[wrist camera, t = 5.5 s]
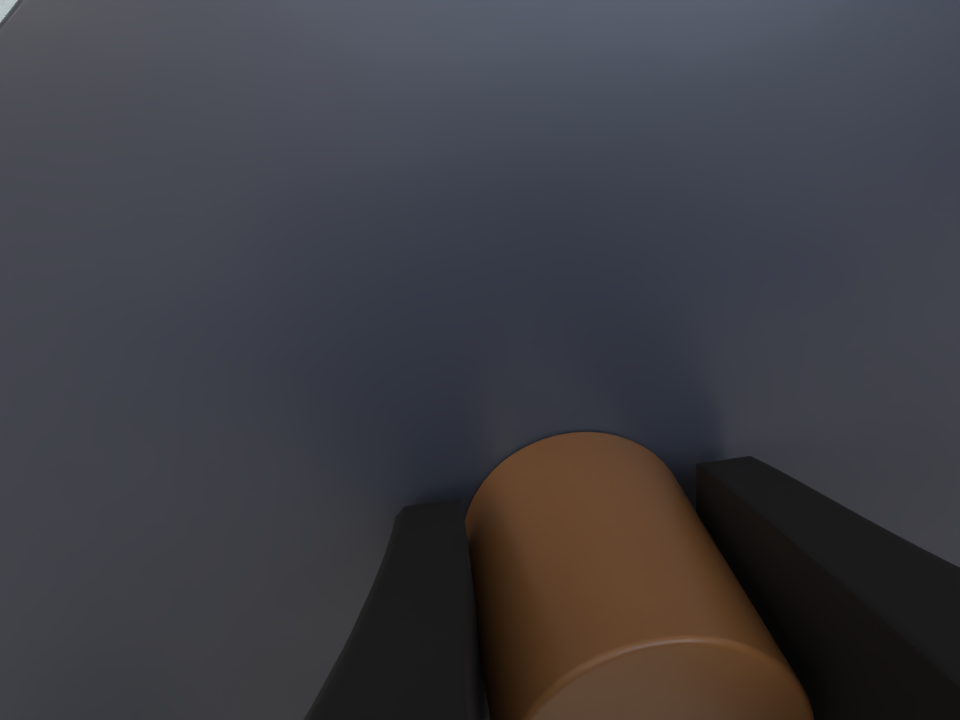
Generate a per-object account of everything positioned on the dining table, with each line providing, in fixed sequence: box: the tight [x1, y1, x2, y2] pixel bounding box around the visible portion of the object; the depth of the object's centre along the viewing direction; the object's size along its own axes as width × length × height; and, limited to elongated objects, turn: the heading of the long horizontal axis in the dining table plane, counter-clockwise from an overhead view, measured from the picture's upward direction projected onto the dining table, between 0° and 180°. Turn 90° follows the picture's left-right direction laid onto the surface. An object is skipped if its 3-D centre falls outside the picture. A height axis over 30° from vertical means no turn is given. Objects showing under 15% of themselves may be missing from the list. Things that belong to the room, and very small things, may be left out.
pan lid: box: [0, 0, 960, 720], centre depth 9 cm, size 15×15×4 cm
